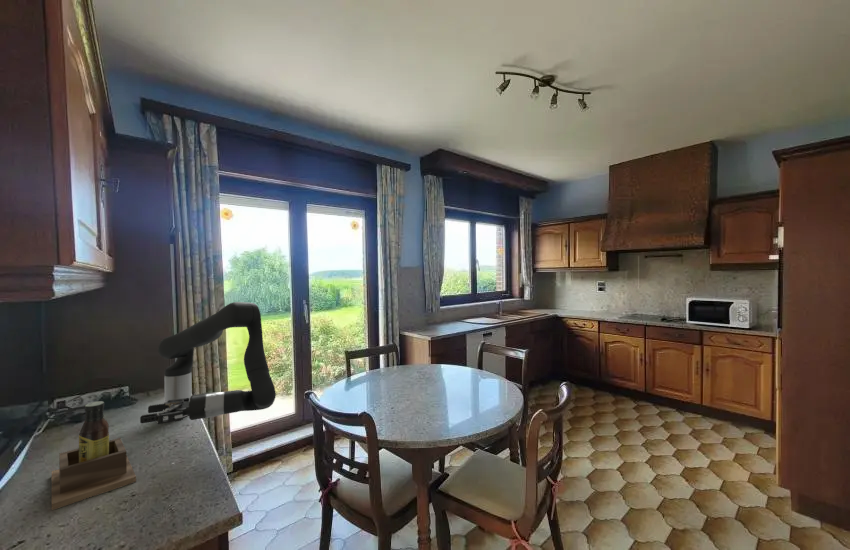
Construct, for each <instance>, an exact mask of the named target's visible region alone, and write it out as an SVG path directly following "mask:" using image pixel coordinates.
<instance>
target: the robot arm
mask: <svg viewBox="0 0 850 550" xmlns="http://www.w3.org/2000/svg"><path fill="white" fill-rule="evenodd" d="M230 328H246V330H247V332H248V343H247V345H246V348H245V350H244V351H245V352H244V356H243V363H244V368H245V372H246V376H247V379H248V381H249V385H250V389H251V390H246V391H245V390H241V389H236V390H227V391H214V392H206V393H197V394H193V393H192V385H193V384H192V375H193V374H192V369H193V366H194V354H195V353H194V351H195V349H196V348H199V347H202V346H206V345H208V344H210V343H212V342H214V341H216V340H218V339H220V337H221V336H222V335H223V331H225V330H226V329H230ZM263 338H264V337H263V326H262V316H261V310H260V308H259V306H258V304H256V303H254V302H247V301H234V302H230V303H228V304H227V305H225V306H224V307H222V308H221V309H219V310H218V311H217V312H215V313H213V314H212V315H210V316H207V317H205V318H203V319H202V320H199V321H198V322H196V323H194V324H192V325H191V326H188V327H187V328H185V329H184V330H182V331H180V332H178V333H176V334H172V335H169V336H166V337H164V338H162V339H161V341H160V343H159V344H158V347H157V351H158V355H159V356H160V357H161V358H163V359H165V360H172V359H176V360H175V361H174V362H173V363H171V365H169V366H167V367H165V368H164V372H163V373H164V374H163V375H164V381H163V382H164V402H163V403H157V404H152V405H151V404H150V405H149V406H148V407H147V412H148V414H147V413H146V414H142V415H141V416H140V418H139V419H140V420H139V421H140V424H147V423H152V422H153V423H154V422H155V423H157V424H158V425H162V424H167V423H168V424H169V423H172V422H173V423H174V422H180V421H182V420H184V418H185V417H187V416H189V417H188V418H189V420H190V421H194V420H195V421H196V420H201V419H206V418H208V419H209V418H214V417H218V416H222V415H227V414H235V413H238V412H248V411H249V412H251V411H262V410H265V409H269V408H270V407H272V405H273V404H274V402H275V399H276V396H277V394H276V393H277V392H276V388H275V386H274V385H275V384H274V383H273V379H272V377H271V375H270V370H269V364H268V362H267V358H266V354H265V349H264V339H263Z"/></svg>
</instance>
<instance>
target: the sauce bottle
mask: <svg viewBox="0 0 850 550" xmlns="http://www.w3.org/2000/svg"><path fill="white" fill-rule="evenodd" d="M104 408H105V402H104V401H102V400H100V401H92V402H89V403H87V404H86V405H84V412H85V413H84V414H85V419H84V422H83V423H82V424H83V425H82V426H81V428H80V432H79V433H78V449H79V463H80V462H84V461H87V460H91V459H95V458H98V457H102V456H105V455H109V440H110V432H109V427H110V426H109V422H108V421H107V419H105V416H104V415H105V414H104Z"/></svg>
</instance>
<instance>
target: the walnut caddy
mask: <svg viewBox="0 0 850 550" xmlns="http://www.w3.org/2000/svg"><path fill="white" fill-rule="evenodd" d="M58 460H59V461H58V462H59V463H58V464H59V466H58V467H59V468H58V469H55V470H51V511H54V510H56V509H60V508H62V507H66V506H69V505H72V504H74V503H78V502H81V501H84V500H87V499H89V497H90V498H92V496H93V497H96V496H98V495H101V494H105V493H107V492H110V491H114V490H115V489H118V488H121V487H125V486H128V485H131V484H133V482H134V483H136V482H137V475H136V474H135V471H134V469H133V466H132V464H131V462H130V460H129V457H128V455H127V450H126V448H125V445H124V443H123V441H122V438H121V437H118V438H114V439H109V455H105V456H102V457H98V458H95V459H91V460H87V461H84V462H80V463H79V448H75V449H71V450H67V451H63V452H60V453H59V458H58ZM86 498H87V499H86ZM83 499H84V500H83Z"/></svg>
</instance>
